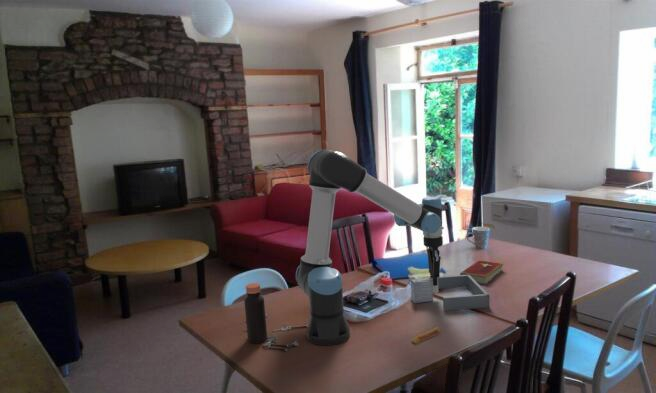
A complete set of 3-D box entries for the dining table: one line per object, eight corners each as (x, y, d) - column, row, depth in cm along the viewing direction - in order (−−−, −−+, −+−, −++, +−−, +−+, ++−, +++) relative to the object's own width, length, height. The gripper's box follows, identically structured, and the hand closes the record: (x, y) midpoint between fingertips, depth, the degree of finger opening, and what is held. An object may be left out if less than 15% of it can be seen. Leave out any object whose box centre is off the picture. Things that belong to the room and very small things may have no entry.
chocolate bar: (440, 333, 172) (440, 327, 171) (416, 345, 165) (416, 338, 164) (435, 331, 174) (434, 325, 173) (410, 342, 167) (410, 336, 166)
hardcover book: (460, 280, 222) (459, 271, 222) (478, 267, 238) (478, 259, 238) (486, 285, 215) (486, 276, 214) (503, 271, 231) (503, 263, 230)
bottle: (258, 333, 179) (253, 280, 176) (271, 338, 175) (266, 284, 172) (243, 340, 174) (238, 286, 171) (257, 345, 170) (252, 290, 167)
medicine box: (429, 297, 204) (429, 277, 202) (433, 301, 199) (432, 280, 198) (411, 299, 203) (410, 279, 201) (414, 303, 198) (413, 282, 197)
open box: (489, 307, 190) (489, 295, 190) (444, 310, 190) (443, 298, 189) (469, 285, 214) (469, 274, 214) (429, 288, 214) (428, 277, 213)
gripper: (446, 239, 191) (448, 297, 195) (438, 231, 204) (439, 285, 208) (427, 240, 191) (429, 298, 195) (420, 232, 204) (422, 287, 208)
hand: (434, 291), depth 201 cm, fingers closed
